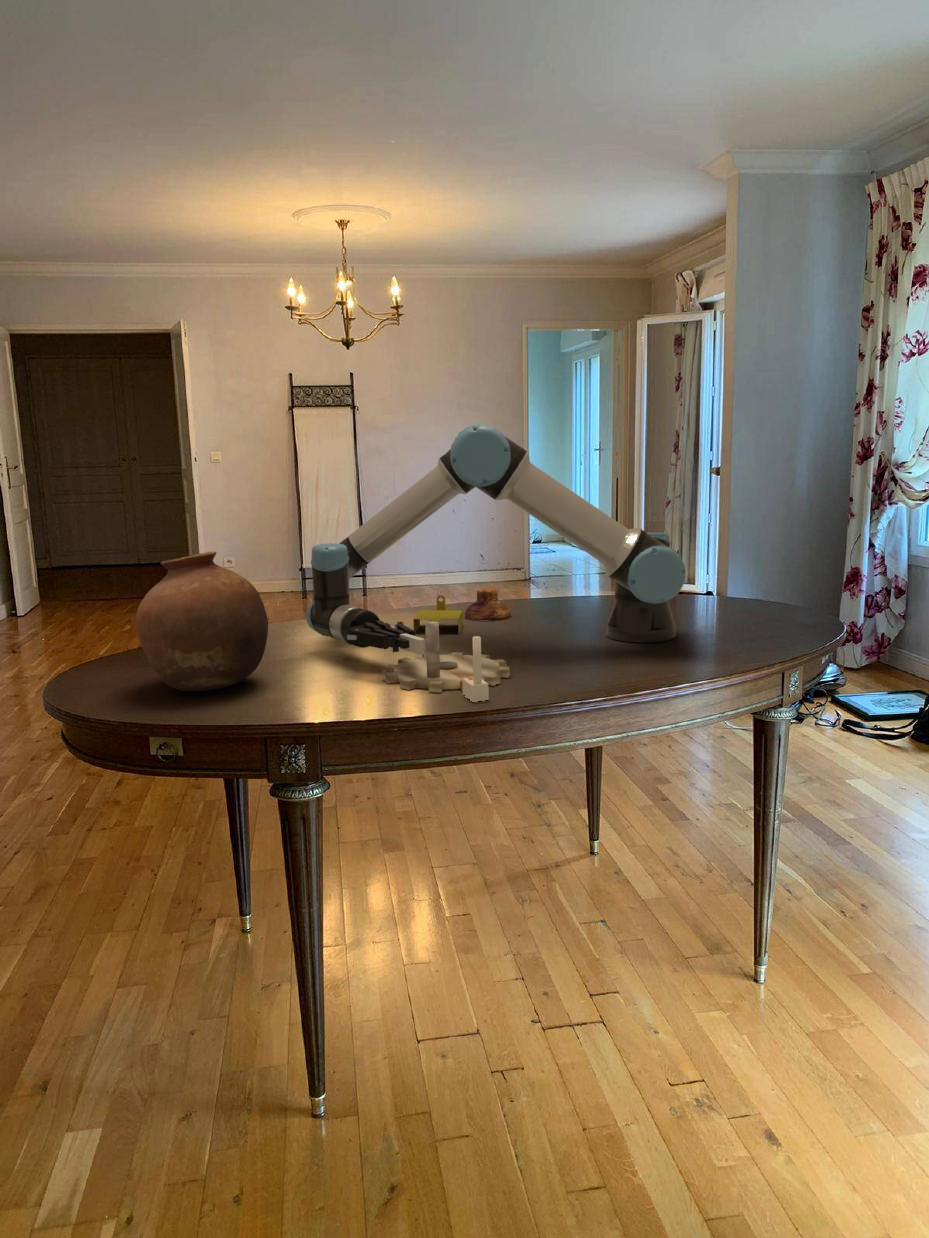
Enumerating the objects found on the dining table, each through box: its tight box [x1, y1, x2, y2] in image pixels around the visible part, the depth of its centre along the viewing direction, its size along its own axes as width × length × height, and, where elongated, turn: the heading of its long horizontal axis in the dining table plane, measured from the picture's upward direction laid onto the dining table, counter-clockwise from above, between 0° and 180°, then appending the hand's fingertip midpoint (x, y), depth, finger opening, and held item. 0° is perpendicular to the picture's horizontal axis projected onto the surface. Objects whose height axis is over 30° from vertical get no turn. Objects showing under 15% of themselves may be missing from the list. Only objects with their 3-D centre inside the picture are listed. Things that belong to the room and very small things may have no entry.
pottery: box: [135, 550, 269, 692], centre depth 160 cm, size 23×23×25 cm
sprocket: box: [384, 621, 511, 693], centre depth 165 cm, size 23×23×12 cm
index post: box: [462, 635, 490, 703], centre depth 150 cm, size 5×3×11 cm, turn 19°
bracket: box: [412, 594, 464, 634], centre depth 205 cm, size 16×8×15 cm
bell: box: [464, 588, 512, 621], centre depth 221 cm, size 12×12×7 cm
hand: (422, 646), depth 158 cm, fingers closed
